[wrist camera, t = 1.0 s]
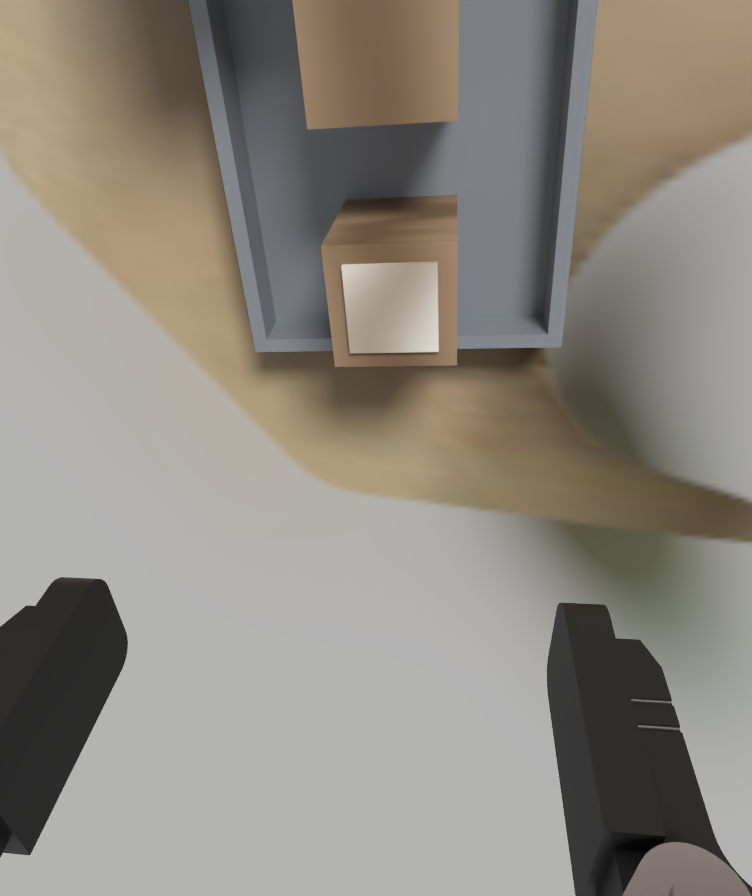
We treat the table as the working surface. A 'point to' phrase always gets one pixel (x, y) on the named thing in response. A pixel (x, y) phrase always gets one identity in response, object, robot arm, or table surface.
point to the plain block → (378, 61)
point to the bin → (406, 166)
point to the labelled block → (393, 282)
